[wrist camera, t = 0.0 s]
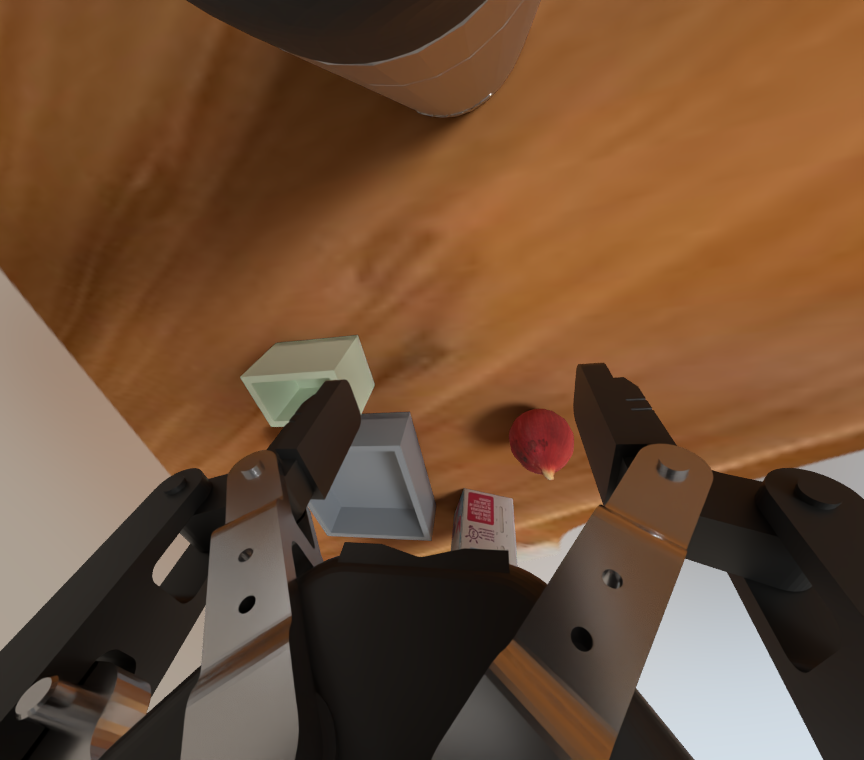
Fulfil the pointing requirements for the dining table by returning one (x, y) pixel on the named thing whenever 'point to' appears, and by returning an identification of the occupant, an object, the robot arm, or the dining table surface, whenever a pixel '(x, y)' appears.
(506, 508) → the milk carton
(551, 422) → the onion
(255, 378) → the small crate
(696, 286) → the dining table surface
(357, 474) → the big crate
